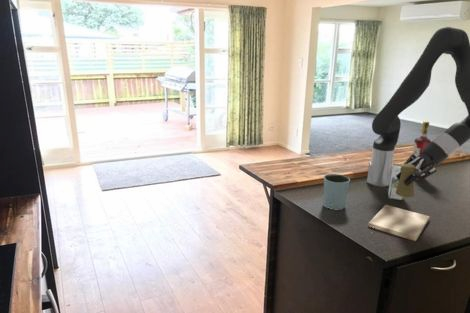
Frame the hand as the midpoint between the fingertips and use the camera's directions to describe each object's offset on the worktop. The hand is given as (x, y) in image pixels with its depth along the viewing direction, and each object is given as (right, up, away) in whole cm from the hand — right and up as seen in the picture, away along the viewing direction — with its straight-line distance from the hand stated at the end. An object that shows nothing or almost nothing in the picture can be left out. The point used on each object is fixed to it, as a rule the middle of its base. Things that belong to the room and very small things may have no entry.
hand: (401, 181), depth 129 cm
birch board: (+1, -16, +5) cm, 17 cm away
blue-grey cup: (-19, -11, +19) cm, 29 cm away
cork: (+2, -5, +2) cm, 6 cm away
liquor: (+31, -2, +52) cm, 61 cm away
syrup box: (+10, -9, +28) cm, 31 cm away
